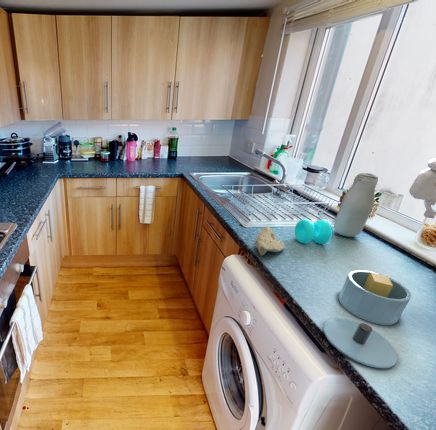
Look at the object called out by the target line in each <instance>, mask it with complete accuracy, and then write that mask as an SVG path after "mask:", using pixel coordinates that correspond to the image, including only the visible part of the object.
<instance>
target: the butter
mask: <svg viewBox="0 0 436 430" xmlns="http://www.w3.org/2000/svg"><path fill="white" fill-rule="evenodd" d="M372 272H373V271H370V274H369V276H368V278H367V281H366V283H365V285H364V287H363V288H364V289H365V290H367V291H369V292H372V293H374V294H376V295H379V296H383V297H386V298H387V296H388V295H389V293H390V291H391V289H392V287H393V285H392V283H391V281H390V279H389V278H390V277H389V276H388V275H386V274H385V275H384V274H381V273H378V272H374V273H372ZM377 273H378V274H377Z"/></svg>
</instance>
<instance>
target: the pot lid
mask: <svg viewBox="0 0 436 430" xmlns="http://www.w3.org/2000/svg"><path fill="white" fill-rule="evenodd" d="M322 328H323V329H322V330H323V334H324V336H325V338H326V339H327V341H328V342H329V344H331V346H333V347H334V348H335V349H336V350H337V351H339V352H340V353H342V354H343V355H345V357H348V358H349V359H351V360H352V361H355V362H357V363H360V364H362V365H365V366H368V367H372V368H376V369H389V368H392V367H394V366H395V365H396V363H397V362H398V360H399V357H398V353H397V351H396V349H395V348H394V346H393V345H392V344H391V342H390V341H388V339H386V338H385V337H384V336H383V335H381V334H380V333H378V331H376V330H374V329H373V328H372V327H371V326H370V325H368V323H364V322H357V321H354V320H350V319H346V318H331V319H328V320H327V321H326V322H325V323H324V324H323V327H322Z"/></svg>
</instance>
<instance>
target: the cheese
mask: <svg viewBox="0 0 436 430" xmlns="http://www.w3.org/2000/svg"><path fill="white" fill-rule="evenodd" d="M254 245H255V247H256V249H257V250H258V253H259V255H260V256H264V255H265V254H266V253H267V252H270V253H278V252H281V251H284V250H285V248H286V246H285V244H284V243H283V242H282V241H281V240H278V239H277V237H276V234H275V233H274V231H273V230H272V228H271V227H270V226H264V227H263V228H262V229H261V230H260V231H259V233H258V235H257V236H256V240H255V242H254Z"/></svg>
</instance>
